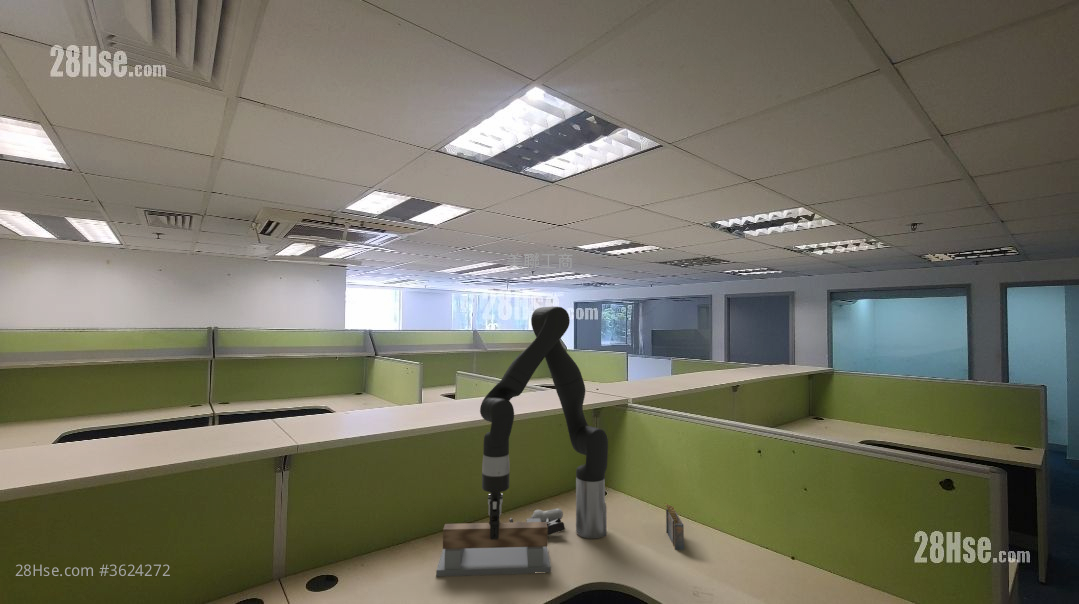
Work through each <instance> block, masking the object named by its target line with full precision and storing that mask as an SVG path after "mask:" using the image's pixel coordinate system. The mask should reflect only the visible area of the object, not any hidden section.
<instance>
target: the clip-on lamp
mask: <svg viewBox="0 0 1079 604" xmlns="http://www.w3.org/2000/svg"><path fill="white" fill-rule="evenodd" d="M563 516H564V512H563V511H562V509H561V508H558V507H557V508H551V509H548V510H542V509H535V510H534V511H533V514H531V517H530V519H534V518H540V521H541V522H547V527H548V535H552V534H556V533H559V532H563V531H565V529H566V528H565V523H564V522H563V521H562V519H563ZM512 522H514V520H513V518H512V517H510V518H509V523H512ZM516 522H520V521H518V520H517V521H516Z"/></svg>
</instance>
